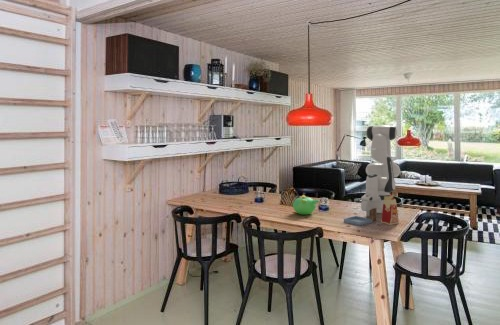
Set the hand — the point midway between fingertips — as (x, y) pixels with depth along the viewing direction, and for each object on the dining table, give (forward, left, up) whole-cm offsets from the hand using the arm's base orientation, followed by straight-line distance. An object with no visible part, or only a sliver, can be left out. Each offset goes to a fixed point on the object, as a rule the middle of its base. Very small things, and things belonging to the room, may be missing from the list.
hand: (371, 215), depth 264 cm
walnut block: (0, 0, -4) cm, 4 cm away
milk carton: (-4, +12, -4) cm, 13 cm away
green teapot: (+25, -43, -4) cm, 50 cm away
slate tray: (+13, -2, -4) cm, 14 cm away
